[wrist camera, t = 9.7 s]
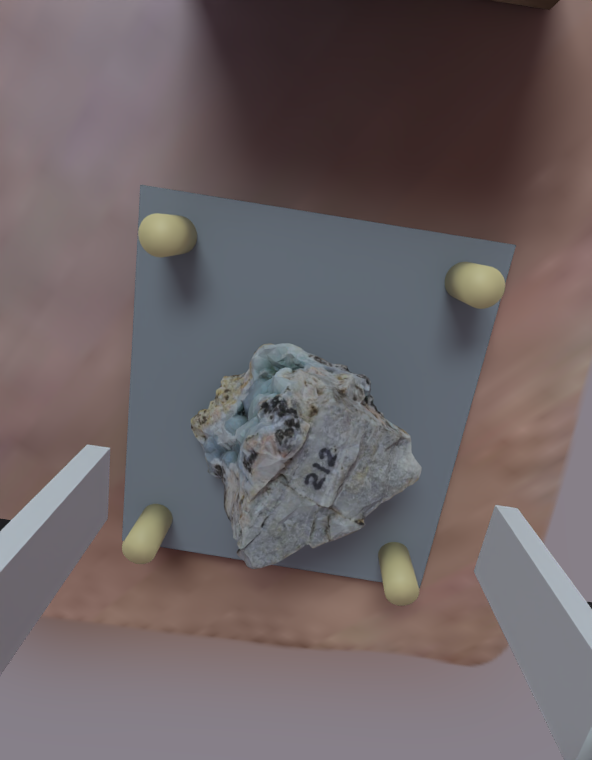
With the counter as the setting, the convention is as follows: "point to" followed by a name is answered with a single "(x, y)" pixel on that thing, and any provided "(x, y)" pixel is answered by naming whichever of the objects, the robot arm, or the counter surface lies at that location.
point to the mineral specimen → (300, 452)
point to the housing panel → (532, 3)
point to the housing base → (315, 336)
